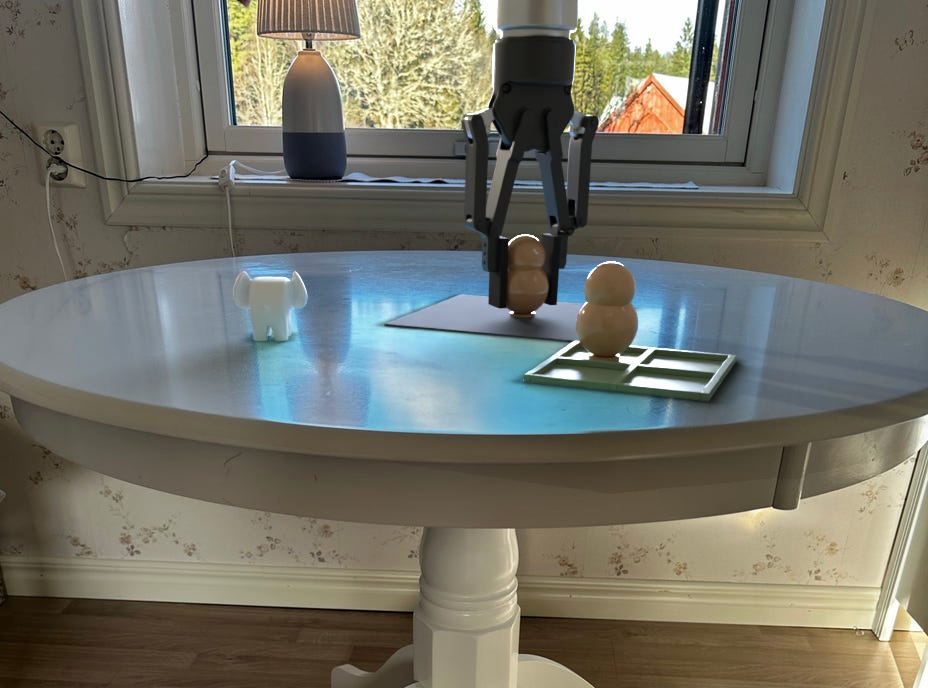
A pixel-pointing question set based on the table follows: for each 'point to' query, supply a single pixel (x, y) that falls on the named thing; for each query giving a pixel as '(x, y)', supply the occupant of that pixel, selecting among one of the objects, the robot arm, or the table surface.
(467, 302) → the mat
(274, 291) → the elephant figurine
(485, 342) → the table surface
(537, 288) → the tan snowman shaped figurine
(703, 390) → the green divided tray
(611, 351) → the snowman figurine
